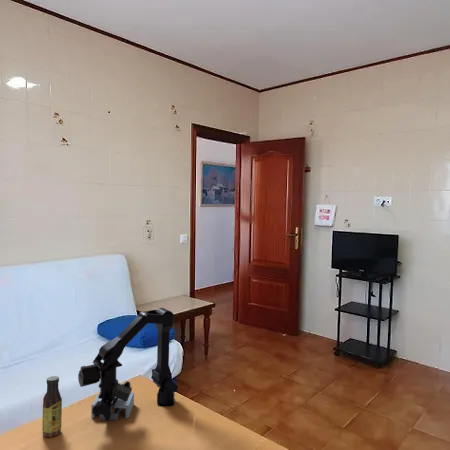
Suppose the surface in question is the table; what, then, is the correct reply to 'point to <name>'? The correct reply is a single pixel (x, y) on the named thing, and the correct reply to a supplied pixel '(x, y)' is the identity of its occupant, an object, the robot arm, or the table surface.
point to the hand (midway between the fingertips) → (107, 420)
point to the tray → (112, 415)
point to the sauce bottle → (52, 408)
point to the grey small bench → (118, 404)
